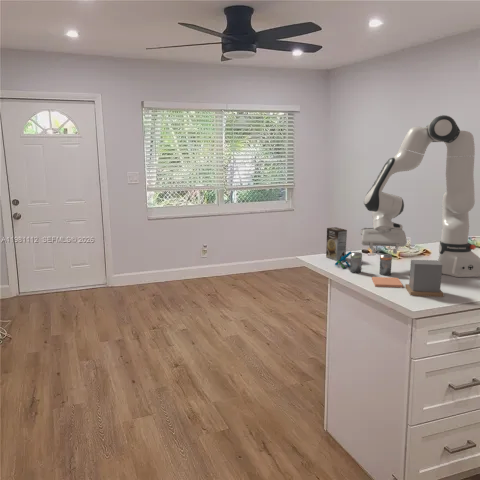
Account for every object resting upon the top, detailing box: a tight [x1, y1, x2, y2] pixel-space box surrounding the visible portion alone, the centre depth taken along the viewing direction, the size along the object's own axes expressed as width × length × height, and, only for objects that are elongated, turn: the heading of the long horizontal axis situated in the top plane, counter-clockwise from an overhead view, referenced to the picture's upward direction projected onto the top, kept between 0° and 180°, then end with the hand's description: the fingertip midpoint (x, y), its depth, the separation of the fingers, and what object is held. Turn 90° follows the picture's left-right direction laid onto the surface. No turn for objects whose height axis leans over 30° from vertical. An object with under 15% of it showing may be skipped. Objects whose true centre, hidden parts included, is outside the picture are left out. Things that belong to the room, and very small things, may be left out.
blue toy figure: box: [334, 251, 352, 269], centre depth 210 cm, size 11×6×10 cm
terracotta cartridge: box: [379, 253, 393, 277], centre depth 195 cm, size 5×5×9 cm
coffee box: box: [325, 226, 348, 262], centre depth 225 cm, size 9×6×16 cm
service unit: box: [404, 259, 444, 298], centre depth 169 cm, size 12×10×12 cm
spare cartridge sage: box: [349, 251, 363, 274], centre depth 200 cm, size 5×5×9 cm
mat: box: [371, 276, 404, 288], centre depth 182 cm, size 11×11×1 cm
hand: (384, 252), depth 198 cm, fingers open, 8 cm apart
